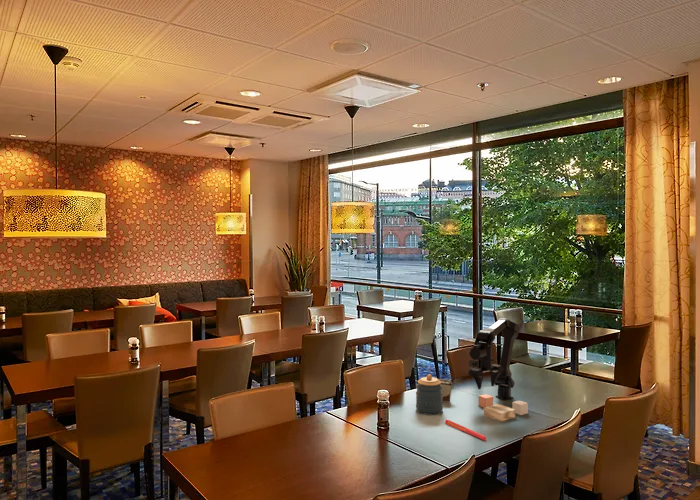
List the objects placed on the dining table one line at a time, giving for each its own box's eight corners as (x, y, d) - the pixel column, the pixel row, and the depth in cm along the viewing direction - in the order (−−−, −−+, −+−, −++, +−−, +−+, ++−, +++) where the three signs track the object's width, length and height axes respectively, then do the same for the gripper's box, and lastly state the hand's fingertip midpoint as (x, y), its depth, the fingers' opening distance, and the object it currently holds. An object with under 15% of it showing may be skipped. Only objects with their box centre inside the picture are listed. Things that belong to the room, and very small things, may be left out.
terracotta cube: (485, 403, 262) (485, 394, 262) (493, 406, 258) (493, 396, 258) (478, 405, 259) (478, 395, 259) (486, 408, 255) (486, 398, 255)
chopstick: (450, 424, 237) (442, 423, 234) (451, 419, 237) (443, 418, 235) (489, 442, 216) (481, 440, 214) (490, 437, 216) (482, 435, 214)
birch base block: (498, 412, 251) (498, 403, 250) (515, 418, 242) (515, 409, 242) (483, 416, 245) (483, 407, 245) (500, 422, 237) (500, 413, 237)
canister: (446, 408, 255) (445, 372, 255) (438, 416, 244) (438, 379, 243) (420, 405, 261) (420, 369, 260) (412, 413, 249) (412, 376, 249)
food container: (451, 398, 272) (451, 379, 271) (452, 401, 266) (452, 382, 265) (427, 397, 273) (427, 378, 273) (428, 401, 267) (428, 381, 267)
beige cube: (519, 410, 252) (519, 400, 252) (527, 413, 248) (527, 403, 247) (512, 412, 249) (512, 402, 249) (520, 415, 245) (520, 404, 245)
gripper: (486, 350, 270) (486, 380, 270) (460, 355, 260) (460, 386, 260) (503, 355, 261) (503, 386, 261) (476, 360, 251) (477, 392, 251)
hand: (485, 387), depth 259 cm, fingers open, 9 cm apart
